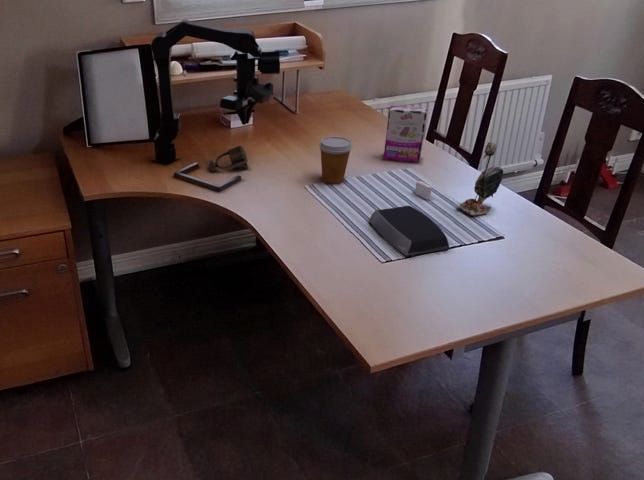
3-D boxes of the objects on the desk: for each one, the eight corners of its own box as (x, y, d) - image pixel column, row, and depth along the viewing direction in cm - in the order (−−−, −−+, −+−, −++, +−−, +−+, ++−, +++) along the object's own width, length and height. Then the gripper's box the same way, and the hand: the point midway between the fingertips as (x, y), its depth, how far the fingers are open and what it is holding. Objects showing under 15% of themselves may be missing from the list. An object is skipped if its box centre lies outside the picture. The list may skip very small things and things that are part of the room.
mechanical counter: (248, 159, 192) (252, 141, 199) (207, 154, 194) (212, 136, 201) (246, 178, 197) (250, 160, 204) (206, 173, 199) (212, 155, 206)
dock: (173, 177, 197) (173, 172, 196) (196, 166, 203) (195, 162, 202) (219, 192, 186) (219, 187, 185) (241, 180, 192) (241, 175, 192)
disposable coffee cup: (354, 178, 190) (358, 140, 184) (337, 188, 185) (341, 150, 178) (327, 170, 196) (330, 133, 190) (310, 180, 190) (313, 142, 184)
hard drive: (402, 258, 150) (405, 243, 148) (366, 222, 166) (367, 208, 164) (451, 250, 153) (455, 235, 150) (411, 215, 169) (413, 201, 166)
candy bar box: (420, 157, 202) (428, 107, 193) (419, 163, 198) (427, 112, 189) (384, 154, 206) (391, 104, 197) (382, 159, 202) (389, 109, 193)
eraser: (417, 192, 180) (419, 180, 178) (430, 198, 177) (432, 186, 175) (414, 193, 180) (416, 181, 178) (426, 199, 176) (428, 187, 174)
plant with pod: (504, 212, 168) (523, 140, 158) (468, 218, 166) (484, 146, 155) (484, 199, 175) (501, 130, 164) (449, 206, 172) (463, 135, 162)
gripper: (248, 85, 181) (247, 137, 189) (285, 71, 193) (283, 121, 201) (218, 79, 188) (219, 130, 196) (256, 66, 199) (255, 114, 207)
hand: (245, 124), depth 200 cm, fingers closed
